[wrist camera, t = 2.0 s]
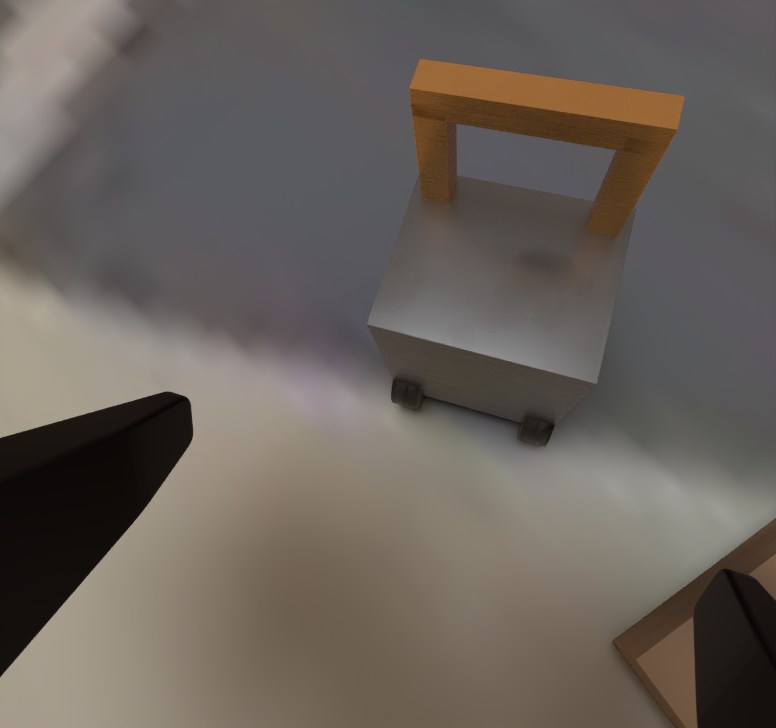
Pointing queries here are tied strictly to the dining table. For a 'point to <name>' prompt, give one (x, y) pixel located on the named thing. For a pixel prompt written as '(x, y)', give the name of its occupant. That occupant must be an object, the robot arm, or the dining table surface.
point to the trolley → (512, 247)
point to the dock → (688, 630)
